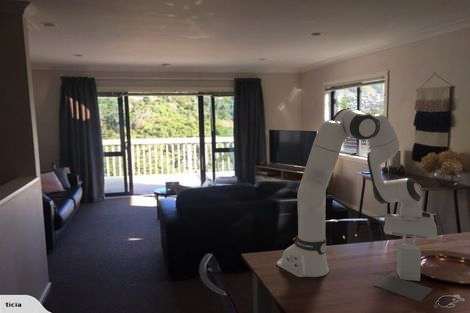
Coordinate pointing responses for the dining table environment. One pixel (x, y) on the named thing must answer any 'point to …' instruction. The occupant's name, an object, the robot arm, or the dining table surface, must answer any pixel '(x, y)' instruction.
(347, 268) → the dining table surface
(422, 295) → the mat
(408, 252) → the supplement box
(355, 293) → the dining table surface
